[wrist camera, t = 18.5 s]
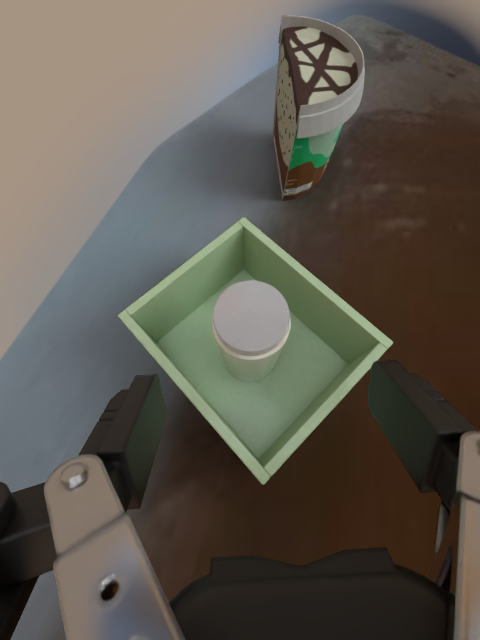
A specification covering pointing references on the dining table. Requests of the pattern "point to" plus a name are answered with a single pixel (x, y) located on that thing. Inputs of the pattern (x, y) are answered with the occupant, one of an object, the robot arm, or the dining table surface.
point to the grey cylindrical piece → (250, 329)
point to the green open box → (293, 364)
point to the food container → (312, 98)
